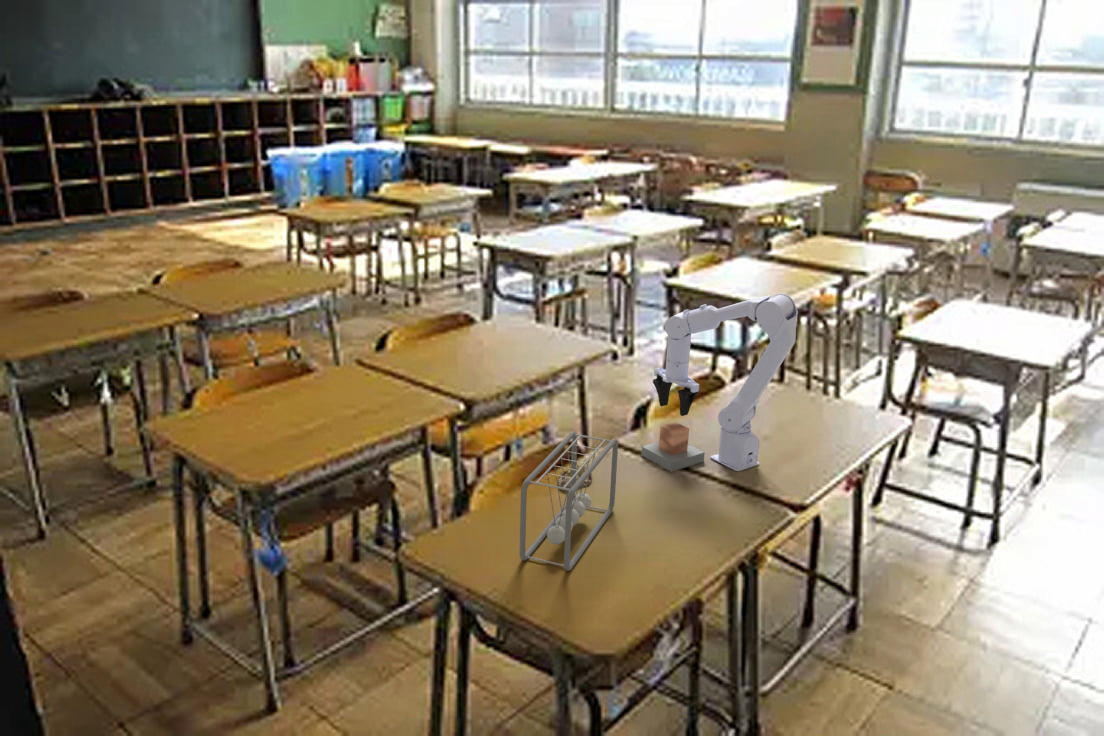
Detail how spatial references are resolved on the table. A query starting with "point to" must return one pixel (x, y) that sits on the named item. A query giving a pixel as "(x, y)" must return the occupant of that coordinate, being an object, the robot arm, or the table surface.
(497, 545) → the table surface
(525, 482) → the newton's cradle
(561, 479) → the mineral rock
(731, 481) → the table surface
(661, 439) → the terracotta cube
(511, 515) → the table surface
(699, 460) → the gray plinth
